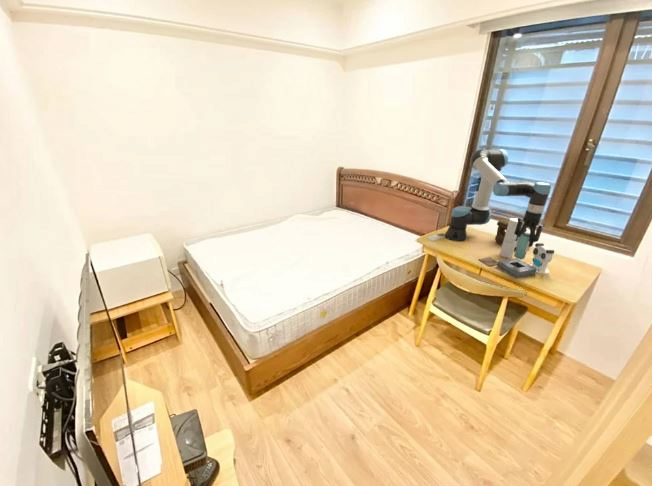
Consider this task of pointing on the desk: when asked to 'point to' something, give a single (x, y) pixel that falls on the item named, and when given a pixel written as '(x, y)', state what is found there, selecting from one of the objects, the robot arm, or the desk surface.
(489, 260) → the pad
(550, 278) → the desk surface
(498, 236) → the brown lumpy upright piece
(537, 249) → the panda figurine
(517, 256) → the teal cylinder
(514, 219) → the cylindrical container
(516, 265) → the housing
